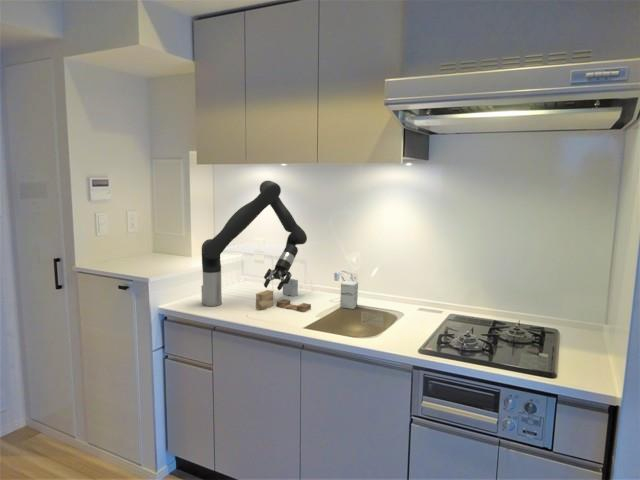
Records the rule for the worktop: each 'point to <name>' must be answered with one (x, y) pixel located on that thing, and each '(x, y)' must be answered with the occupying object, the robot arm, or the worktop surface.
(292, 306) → the notched beam
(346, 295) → the supplement box
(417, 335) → the worktop surface
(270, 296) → the oak crosspiece
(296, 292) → the medicine box
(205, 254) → the robot arm
